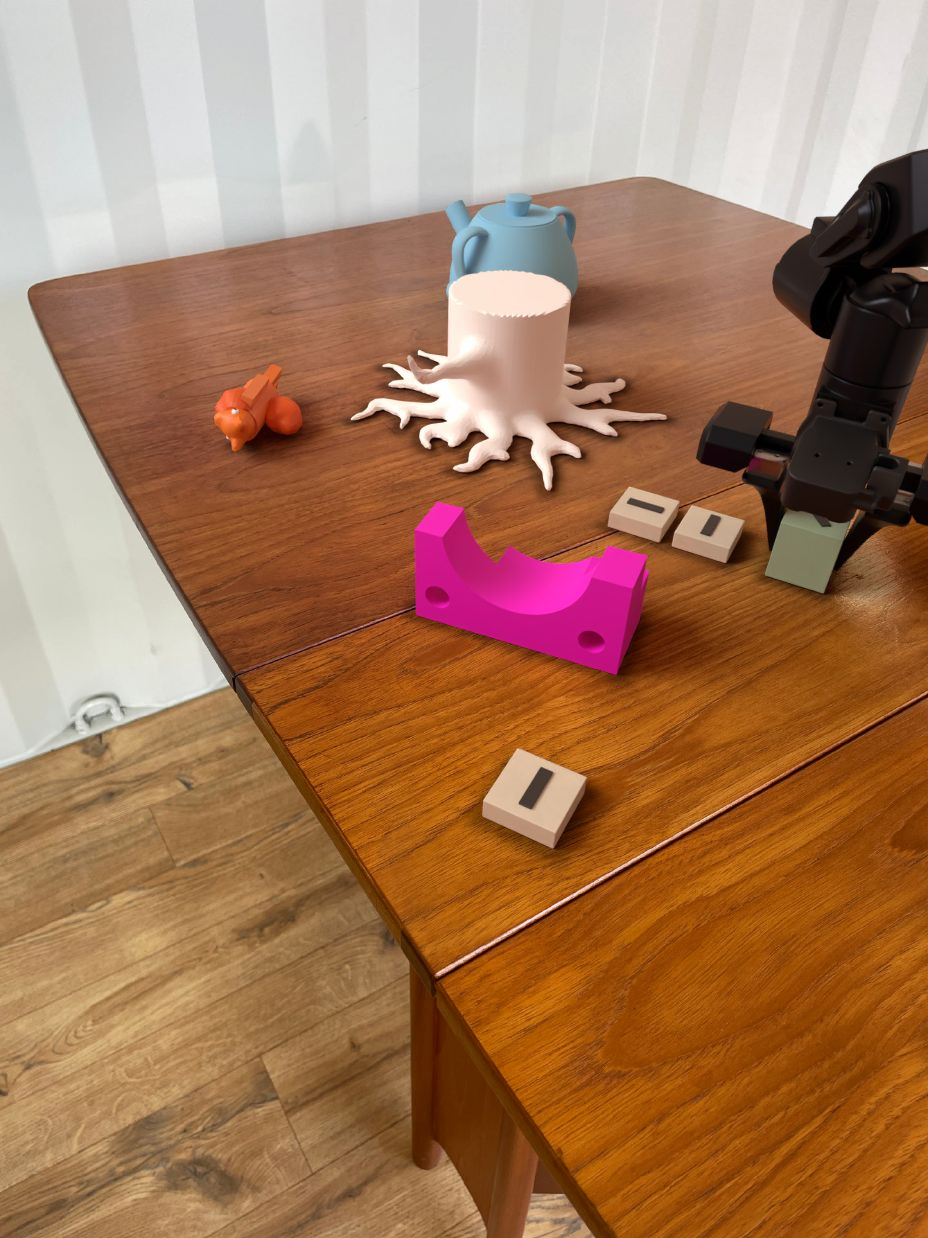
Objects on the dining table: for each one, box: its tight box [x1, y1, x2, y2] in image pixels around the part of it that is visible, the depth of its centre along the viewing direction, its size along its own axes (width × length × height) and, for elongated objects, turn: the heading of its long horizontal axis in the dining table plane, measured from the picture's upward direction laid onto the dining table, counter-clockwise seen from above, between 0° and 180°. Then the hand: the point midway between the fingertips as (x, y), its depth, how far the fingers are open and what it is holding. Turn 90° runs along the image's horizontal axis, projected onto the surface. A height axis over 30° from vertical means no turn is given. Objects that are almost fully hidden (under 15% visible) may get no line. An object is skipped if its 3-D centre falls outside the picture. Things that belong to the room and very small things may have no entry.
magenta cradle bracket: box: [414, 501, 650, 676], centre depth 62 cm, size 15×6×8 cm, turn 67°
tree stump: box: [350, 270, 668, 492], centre depth 86 cm, size 28×28×11 cm
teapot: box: [444, 192, 579, 300], centre depth 106 cm, size 20×20×13 cm
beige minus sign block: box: [481, 747, 588, 850], centre depth 51 cm, size 4×4×2 cm
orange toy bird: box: [212, 363, 303, 453], centre depth 83 cm, size 5×8×12 cm
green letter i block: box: [764, 508, 852, 594], centre depth 68 cm, size 4×4×5 cm
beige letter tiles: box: [607, 486, 746, 564], centre depth 73 cm, size 10×4×2 cm, turn 62°
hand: (803, 558), depth 69 cm, fingers closed on green letter i block, 4 cm apart
